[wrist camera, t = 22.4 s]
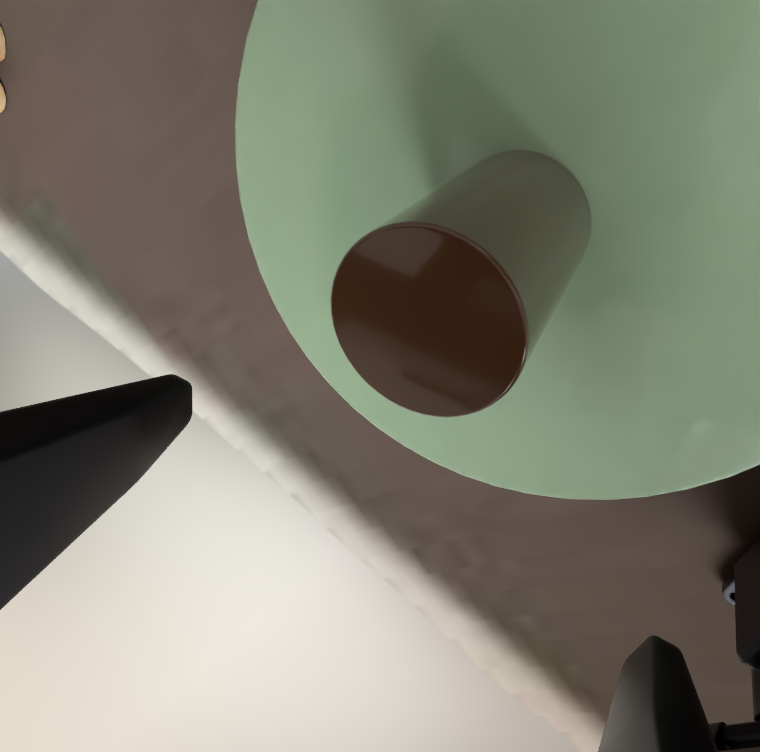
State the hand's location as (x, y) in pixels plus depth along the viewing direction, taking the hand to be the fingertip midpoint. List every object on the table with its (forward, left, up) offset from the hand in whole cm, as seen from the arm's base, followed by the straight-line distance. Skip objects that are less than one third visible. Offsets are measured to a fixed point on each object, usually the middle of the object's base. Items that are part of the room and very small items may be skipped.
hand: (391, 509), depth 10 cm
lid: (0, -4, -3) cm, 6 cm away
